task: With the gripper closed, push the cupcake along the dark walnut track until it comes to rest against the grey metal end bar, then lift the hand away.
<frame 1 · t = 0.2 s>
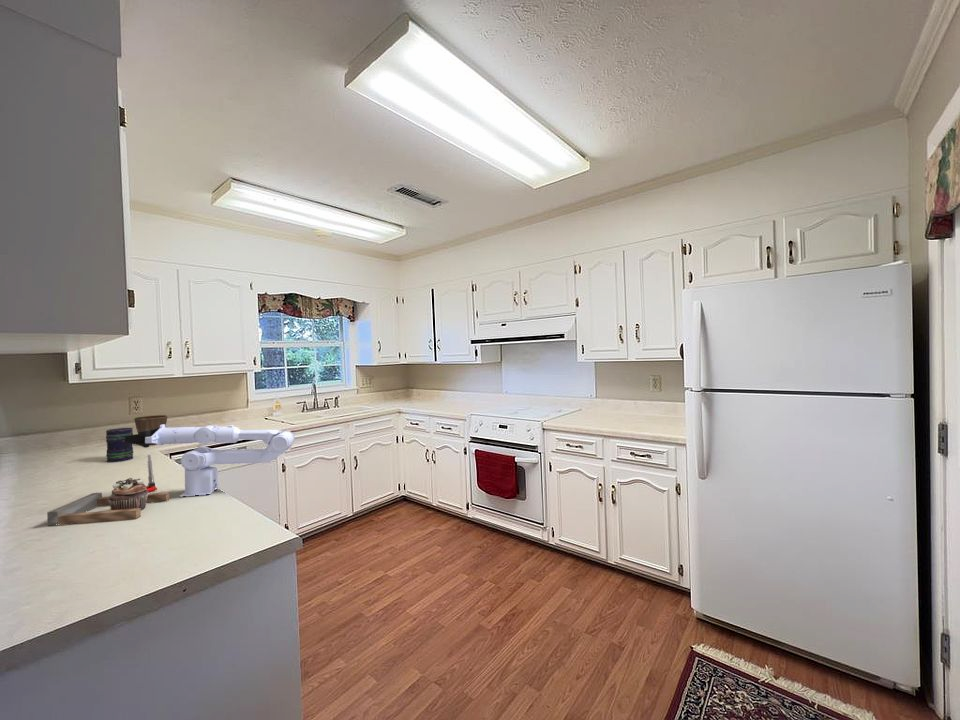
hand: (132, 437, 138), 21 cm above the worktop, tool horizontal, fingers open, 7 cm apart
tow hook: (138, 493, 145), on the worktop
cupcake: (129, 511, 127), on the worktop
guide track: (118, 511, 126), on the worktop
storage jar: (120, 460, 196), on the worktop
plant pot: (151, 444, 234), on the worktop
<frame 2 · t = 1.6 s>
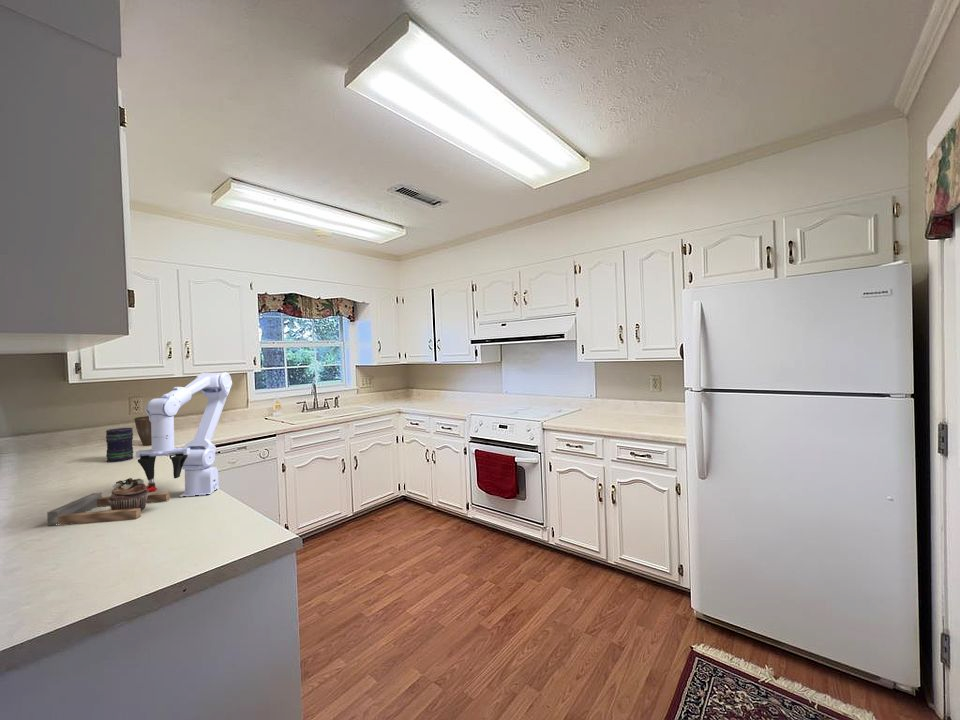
hand: (163, 478, 128), 9 cm above the worktop, tool pointing down, fingers open, 7 cm apart
nothing on the worktop moved.
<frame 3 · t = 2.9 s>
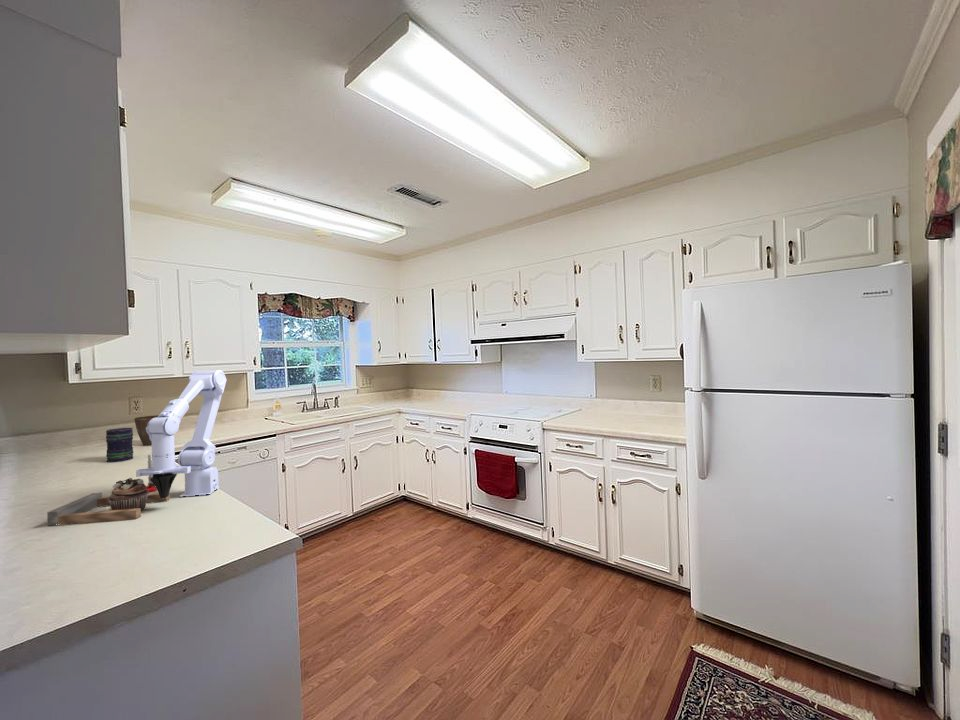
hand: (164, 497, 128), 3 cm above the worktop, tool pointing down, fingers closed
nothing on the worktop moved.
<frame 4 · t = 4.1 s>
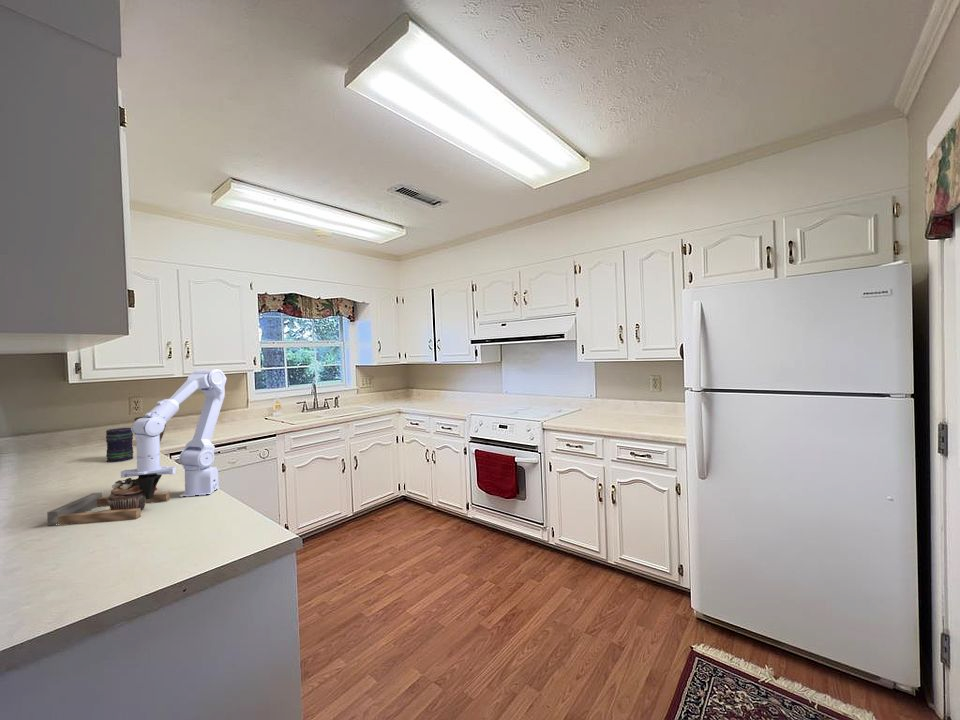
hand: (149, 498, 128), 3 cm above the worktop, tool pointing down, fingers closed
cupcake: (128, 511, 127), on the worktop, touching gripper
everything else where it was.
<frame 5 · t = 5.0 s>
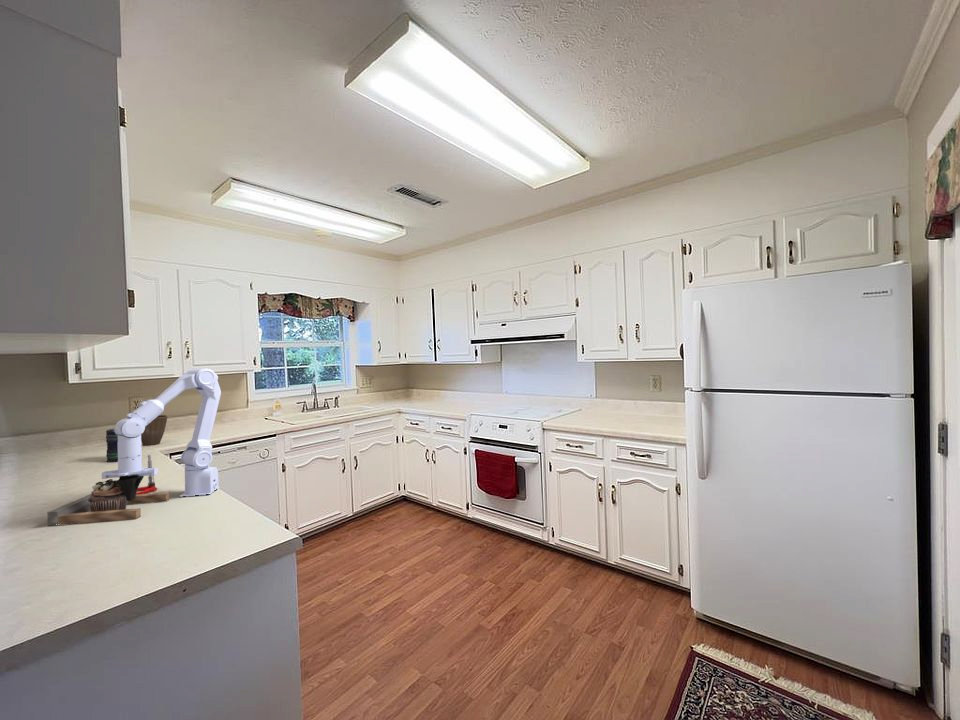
hand: (130, 499, 127), 3 cm above the worktop, tool pointing down, fingers closed
cupcake: (109, 512, 126), on the worktop, touching gripper
everything else where it was.
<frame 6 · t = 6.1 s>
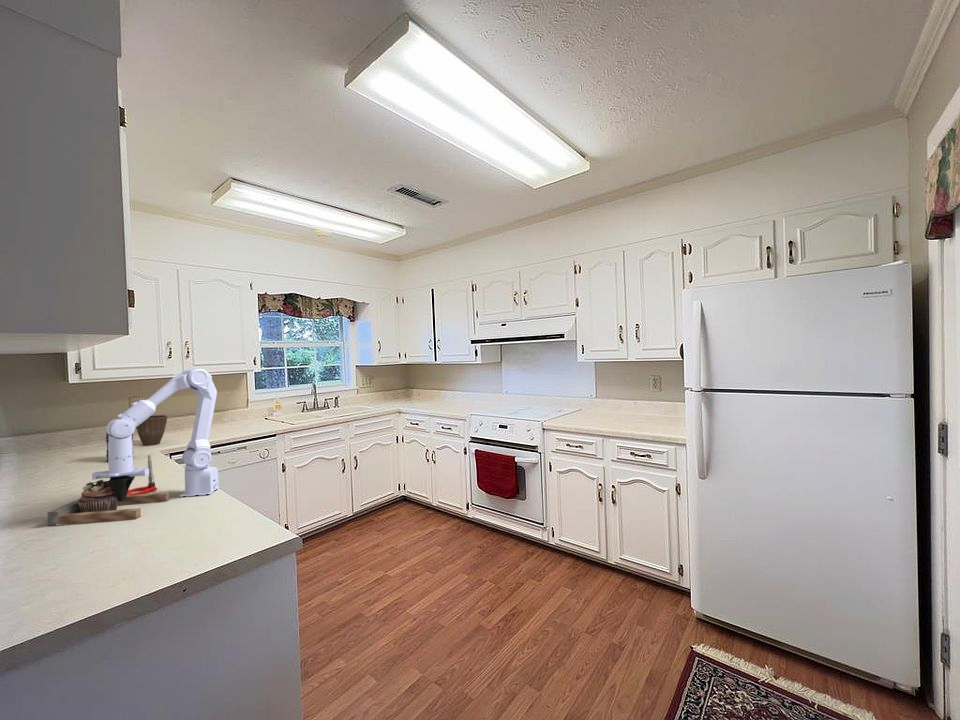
hand: (121, 500, 126), 3 cm above the worktop, tool pointing down, fingers closed
cupcake: (99, 513, 125), on the worktop, touching gripper
everything else where it was.
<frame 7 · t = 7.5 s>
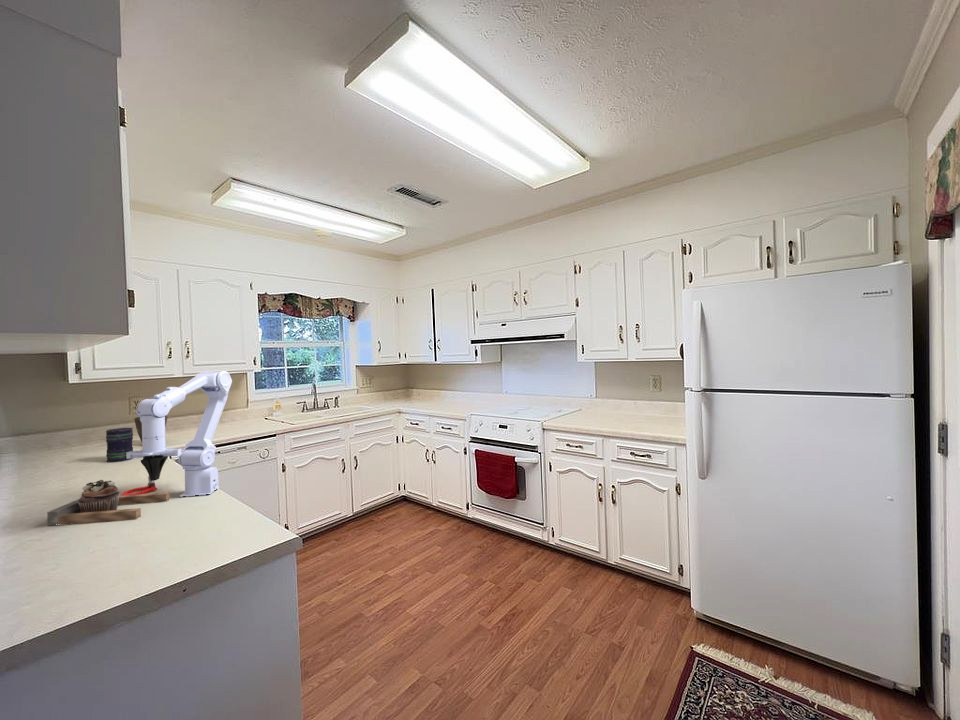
hand: (155, 479, 127), 9 cm above the worktop, tool pointing down, fingers closed
cupcake: (99, 513, 125), on the worktop
everything else where it was.
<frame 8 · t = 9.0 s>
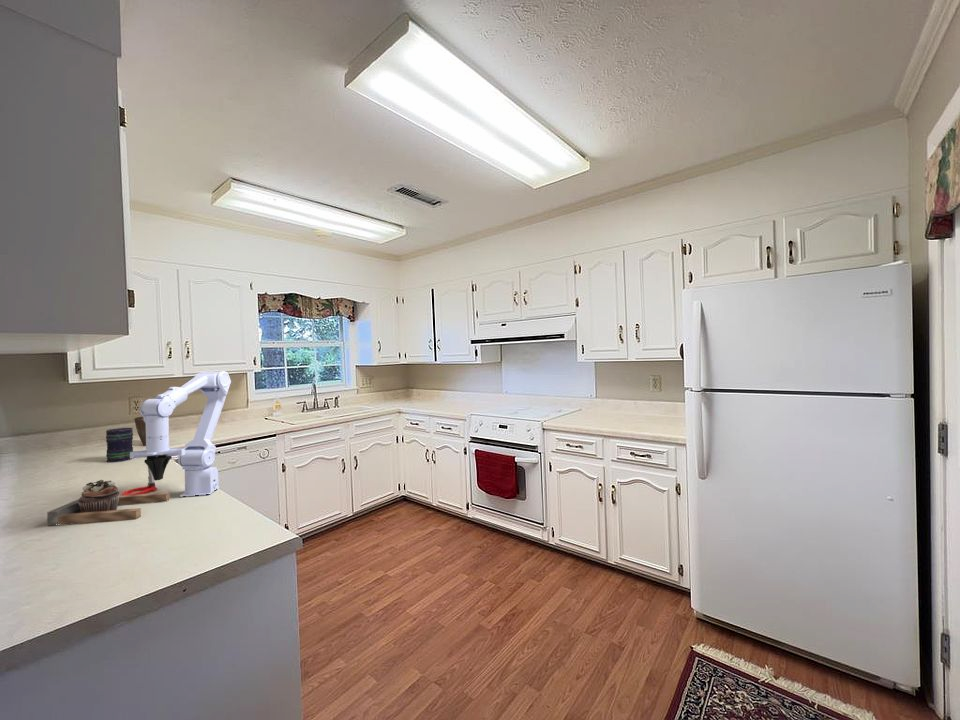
hand: (158, 479, 127), 9 cm above the worktop, tool pointing down, fingers closed
nothing on the worktop moved.
at the end: cupcake 0.2 cm from the target spot, on the worktop; cupcake tilted 0°; the gripper is holding nothing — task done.
